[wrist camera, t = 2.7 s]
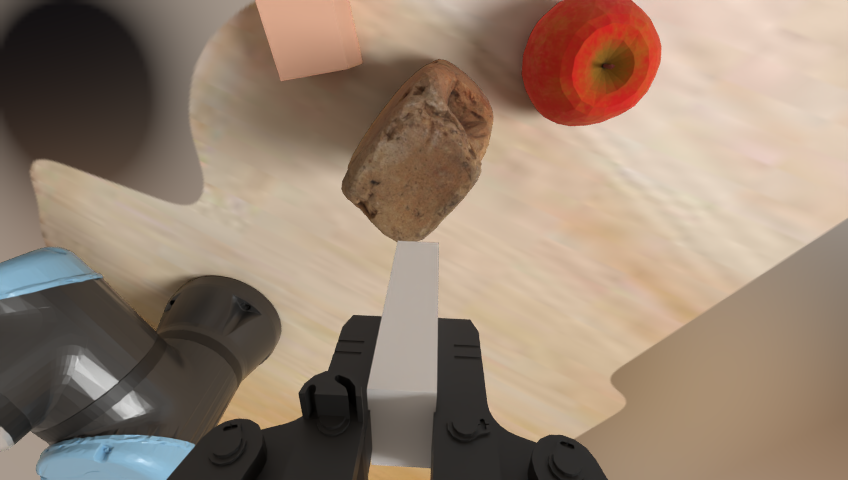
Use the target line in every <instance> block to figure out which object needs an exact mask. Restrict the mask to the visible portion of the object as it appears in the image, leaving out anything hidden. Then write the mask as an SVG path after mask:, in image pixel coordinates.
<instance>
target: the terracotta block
mask: <svg viewBox="0 0 848 480" xmlns="http://www.w3.org/2000/svg"><path fill="white" fill-rule="evenodd" d="M255 1H256V5H257V8H258V11H259V14H260V17H261V20H262V23H263V27H264V30H265V33H266V36H267V39H268V42H269V46H270V49H271V52H272V55H273V58H274V61H275V64H276V68H277V71H278V74H279V77H280V80H281V81H285V80H291V79H296V78H302V77H307V76H313V75H318V74H324V73H329V72H335V71H340V70H346V69H350V68H352V67H355V66H357V65H360V64H362V63H363V61H362V57H361V52H360V48H359V43H358V39H357V34H356V30H355V25H354V20H353V16H352V11H351V7H350V2H349V0H255Z"/></svg>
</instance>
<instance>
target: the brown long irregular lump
mask: <svg viewBox="0 0 848 480" xmlns="http://www.w3.org/2000/svg"><path fill="white" fill-rule="evenodd" d="M492 125H493V111H492V108H491V106H490V103H489V101H488V99H487V98H486V96H485V95H484V93H483V92H482V90H481V89H480V88H479V87H478V86H477V85H476V84H475V82H474V81H473V80H471V79H470V78H469V77H468V76H467V75H466V74H465V73H464V72H463V71H461V70H460V69H459V68H457V67H456V66H455V65H453V64H452V63H450V62H448V61H446V60H441V59H438V60H435V61H433V62H432V63H430V64H427V65H425V66H424V67H422V68H421V69H420V70H418V71H417V72H416V73H415V74H414V75H413V76H412V77H411V78H409V79H408V80H407V81H406V82H405V83H404V84H403V85H402V87H401V88H400V89H399V90H398V91H397V92H396V93H395V95H394V96H393V97H392V99H391V100H390V101H389V102H388V103H387V105H386V106H385V107H384V109H383V110H382V111H381V113H380V114H379V115H378V117H377V118H376V119H375V121H374V122H373V124H372V125H371V126H370V128H369V129H368V131H367V132H366V134H365V136H364V137H363V139H362V140H361V142H360V144H359V145H358V147H357V149H356V151H355V152H354V154H353V156H352V158H351V160H350V163H349V165H348V170H347V173H346V175H345V177H344V179H343V181H342V192H343V194H344V195H345V196H346V198H347V199H348V200H350V201H351V202H352V203H353V204H354V205H355V206H356V207H358V208H360V209H361V211H362V212H363V213H364V214H365V215H366V216H367V217H368V219H369V220H370V221H371V222H372V223H373V224H374V225H375V226H376V227H377V228H378V229H379V230H380V231H381V232H382V233H383V234H384V235H386V236H388V237H389V238H391V239H393V240H395V241H396V242H398V241H412V242H417V241H420V240H422V239H424V238H425V237H426V236H427V235H429V234H430V233H431V232H432V231H433V230H434V229H436V228H437V226H438V225H439V224H440V223H441V222H442V220H443V219H444V218H445V217H446V216H447V215H448V214H449V213H450V212H452V211H453V209H454V208H455V207H456V206H457V205H458V204H459V203H460V202H461V201H462V200H463V199H464V197H465V196H466V195H467V193H468V192H469V191H470V190H471V189H472V187H473V186H474V185H475V183H476V182H477V180H478V178H479V176H480V173H481V164H482V163H481V160H482V158H483V157H484V155H485V153H486V148H487V147H488V145H489V139H490V136H491V130H492Z"/></svg>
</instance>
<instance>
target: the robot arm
mask: <svg viewBox="0 0 848 480" xmlns="http://www.w3.org/2000/svg"><path fill="white" fill-rule="evenodd" d="M438 270H439V243H435V242H412V241H398V242H397V247H396V252H395V256H394V261H393V266H392V271H391V275H390V280H389V285H388V290H387V295H386V299H385V304H384V309H383V314H382V316H362V315H353V316H352V317H351V318H350V319H349V320H348V321H347V323H346V324H345V325H344V326H343V327H342V330H341V333H340V336H339V339H338V342H337V345H336V348H335V353H334V354H333V357H332V360H331V363H330V366H329V369H328V371H325V372H323V373H320V374H318V375H315V376H313V377H312V378H311V379H310V380H308V381H307V382H306V383H305V384H304V385H303V387H302V388H301V390H300V392H299V399H300V404H301V409H302V414H303V416H302V417H300V418H298V419H297V420H295V421H292V422H289V423H286V424H282V425H278V426H274V427H270V428H266V429H262V430H261V429H260V427H259V425H258V424H256V423H255V422H253V421H251V420H248V419H234V420H230V421H226V422H224V423H222V424H220V425H218V423H219V421H220V419H221V417H222V416H223V414H224V412H225V410H226V408H227V407H228V405H229V403H230V401H231V399H232V398H233V396H234V394H235V392H236V390H237V389H238V387H239V385H240V383H241V382H242V380H244V379H245V378H246V377H247V376H248V375H249V374H250V373H251V372H252V371H253V370H254V369H255V368H256V367H257V366H258V365H260V364H261V363H263V362H264V361H265V360H266V359H267V358H268V357H269V356H270V355H271V353H272V352H273V350H274V348H275V346H276V345H277V343H278V341H279V338H280V335H281V322H280V318H279V316H278V313H277V311H276V310H275V308H274V307H273V305H272V304H271V303H270V301H269V300H268V299H267V298H266V297H265V296H264V295H262V294H261V293H260V292H259V291H257V290H256V289H254V288H253V287H251V286H249V285H247V284H245V283H243V282H240V281H238V280H235V279H231V278H227V277H220V276H206V277H200V278H197V279H194V280H191V281H189V282H188V283H186V284H185V285H183V286H182V287H181V288H180V289H179V290H178V291H177V292H176V293H175V294H174V295H173V296H172V297H171V299H170V300H169V302H168V303H167V305H166V308H165V310H164V313H163V315H162V318H161V320H160V323H159V325H158V328H157V330H156V331H155V330H154V329H153V328H152V327H151V326H150V325H149V324H148V323H147V322H146V321H144V320H143V319H142V318H141V317H140V316H139V315H138V314H137V313H136V312H135V311H134V310H133V309H132V308H131V307H130V306H129V305H128V304H127V303H126V302H125V301H124V300H123V298H122V297H121V296H120V295H119V294H118V293H117V292H116V291H115V290H114V289H113V288H112V287H111V286H110V285H109V284H108V283H107V282H106V281H105V280H104V279H103V276H102V275H101V274H99V273H96V272H95V271H93V270H92V269H91V268H90V267H89V266H88V265H86V264H85V263H84V262H83V261H82V260H81V259H80V258H79V257H77V256H76V255H75V254H74V253H73V252H71V251H69V250H67V249H64V248H60V247H45V248H40V249H37V250H34V251H31V252H28V253H26V254H23V255H20V256H18V257H15V258H12V259H9V260H7V261H4V262H2V263H0V452H1V451H5V450H8V449H9V448H11V447H12V446H13V445H14V444H16V443H17V442H18V441H19V440H20V439H21V438H22V437H24V436H25V435H26V434H27V433H28V432H29V431H31V432H32V433H34V434H36V435H37V436H38V437H40V438H41V439H43V440H44V441H46V442H47V443H48V444H49V445H50V446H49V447H47V449H45V450H44V451H43V452H42V453H41V455H40V459H39V461H38V463H37V465H36V472H37V474H38V475H40V477H41V480H368V473H369V467H370V461H371V463H372V465H385V466H403V467H420V468H431V480H608V479H607V478H606V476H605V474H604V473H603V471H602V469H601V468H600V466H599V464H598V463H597V461H596V459H595V458H594V457H593V456H592V454H591V453H590V452H589V451H588V450H587V448H586V447H584V446H583V445H581V444H580V443H579V442H577V441H576V440H574V439H571V438H569V437H566V436H563V435H548V436H546V437H544V438H541V439H540V440H539V441H538V442H537V443H536V442H533V441H530V440H527V439H525V438H522V437H519V436H517V435H515V434H512V433H510V432H508V431H507V430H505V429H504V428H503V427H501V426H500V425H499V424H498V423H497V422H496V421H495V419H494V418H493V417H492V415H491V413H490V411H489V408H488V404H487V397H486V389H485V381H484V373H483V364H482V356H481V349H480V340H479V332H478V330H477V329H476V328H475V326H474V325H473V323H472V322H471V320H466V319H445V318H438ZM217 425H218V426H217Z"/></svg>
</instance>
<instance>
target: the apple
mask: <svg viewBox="0 0 848 480" xmlns="http://www.w3.org/2000/svg"><path fill="white" fill-rule="evenodd" d="M660 61H661V43H660V39H659V36H658V34H657V32H656V29H655V27H654V25H653V23H652V21H651V19H650V18H649V17H648V16H647V15H646V13H645V12H644V11H643V10H642V9H641V8H640V7H639V6H637V5H636V4H635V3H634V2H633V1H632V0H564V1H561V2H559V3H557V4H556V5H555V6H554V7H553V8H552V9H551V10H550V11H548V12H547V13H546V14H545V15H544V16H543V17H542V18H541V19H540V20H539V21H538V22H537V24H536V26H535V27H534V29H533V30H532V32H531V34H530V36H529V39H528V42H527V45H526V48H525V51H524V54H523V63H522V78H523V82H524V86H525V90H526V92H527V94H528V96H529V98H530V100H531V102H532V103H533V105H534V106H535V108H536V109H537V111H538V112H539V113H540V114H542V115H543V116H544V117H545V118H547V119H549V120H551V121H553V122H555V123H557V124H562V125H567V126H584V125H591V124H596V123H600V122H603V121H605V120H608V119H610V118H613V117H615V116H618V115H620V114H622V113H624V112H625V111H627V110H629V109H630V108H632V107H634V106H635V105H636V104H637V102H638V101H639V100H640V99H641V98H642V97H643V96H644V95H645V94H646V92H647V91H648V89H649V87H650V85H651V83H652V82H653V80H654V78H655V76H656V73H657V70H658V67H659V65H660Z"/></svg>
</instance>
